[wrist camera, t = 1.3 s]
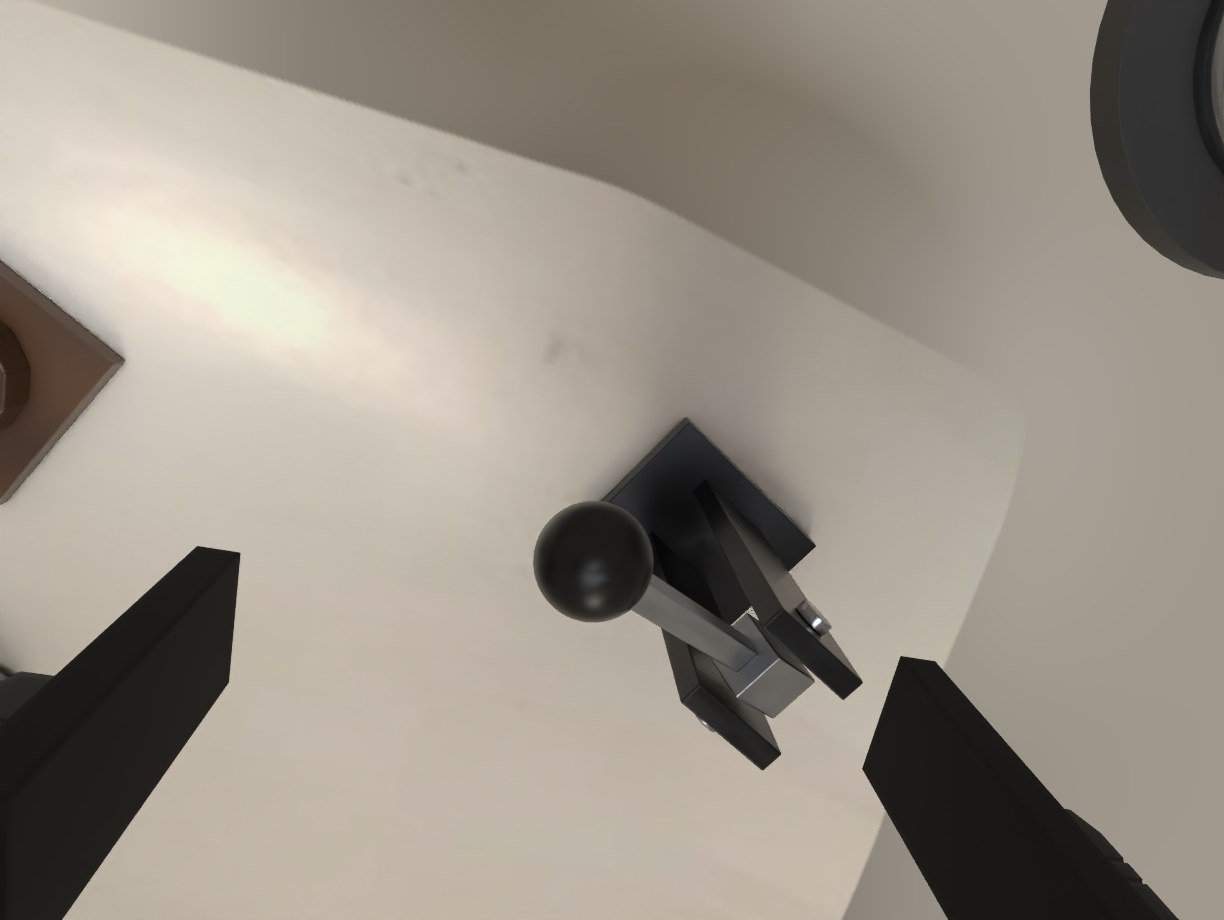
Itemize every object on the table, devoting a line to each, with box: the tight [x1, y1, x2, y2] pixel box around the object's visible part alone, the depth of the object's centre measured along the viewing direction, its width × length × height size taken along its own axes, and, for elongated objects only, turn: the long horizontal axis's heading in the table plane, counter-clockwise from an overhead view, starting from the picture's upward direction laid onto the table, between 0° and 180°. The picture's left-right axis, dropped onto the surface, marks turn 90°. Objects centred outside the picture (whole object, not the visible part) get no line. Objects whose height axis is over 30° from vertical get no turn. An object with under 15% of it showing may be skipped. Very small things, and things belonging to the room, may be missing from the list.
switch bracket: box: [601, 418, 863, 770], centre depth 36 cm, size 10×8×16 cm
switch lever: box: [533, 501, 815, 718], centre depth 27 cm, size 13×4×4 cm, turn 46°
